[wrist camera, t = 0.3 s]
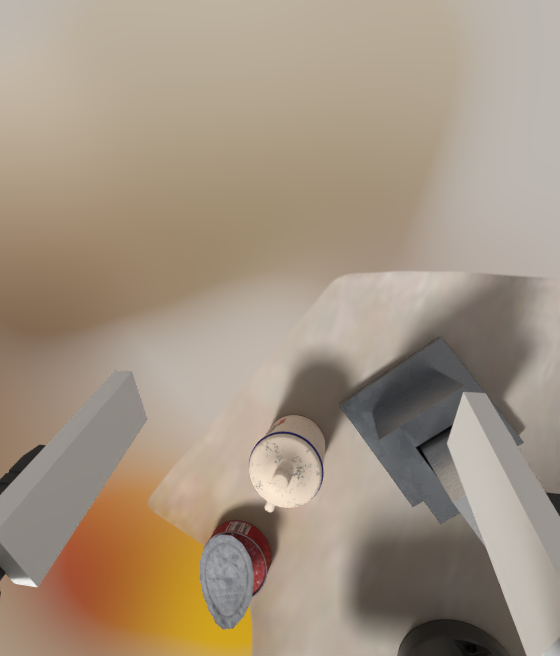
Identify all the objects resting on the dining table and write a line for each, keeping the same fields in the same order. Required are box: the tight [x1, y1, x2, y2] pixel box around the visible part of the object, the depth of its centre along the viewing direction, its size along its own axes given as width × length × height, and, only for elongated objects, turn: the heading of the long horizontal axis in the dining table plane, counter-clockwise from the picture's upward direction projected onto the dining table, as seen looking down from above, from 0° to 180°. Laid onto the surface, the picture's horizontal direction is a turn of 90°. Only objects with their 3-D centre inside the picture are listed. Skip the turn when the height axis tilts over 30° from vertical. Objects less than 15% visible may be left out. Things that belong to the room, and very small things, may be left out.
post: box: [419, 425, 486, 547], centre depth 33 cm, size 4×4×20 cm
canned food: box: [200, 520, 271, 629], centre depth 47 cm, size 11×10×10 cm
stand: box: [340, 337, 524, 524], centre depth 39 cm, size 16×16×12 cm
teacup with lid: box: [249, 415, 325, 512], centre depth 42 cm, size 12×9×12 cm
